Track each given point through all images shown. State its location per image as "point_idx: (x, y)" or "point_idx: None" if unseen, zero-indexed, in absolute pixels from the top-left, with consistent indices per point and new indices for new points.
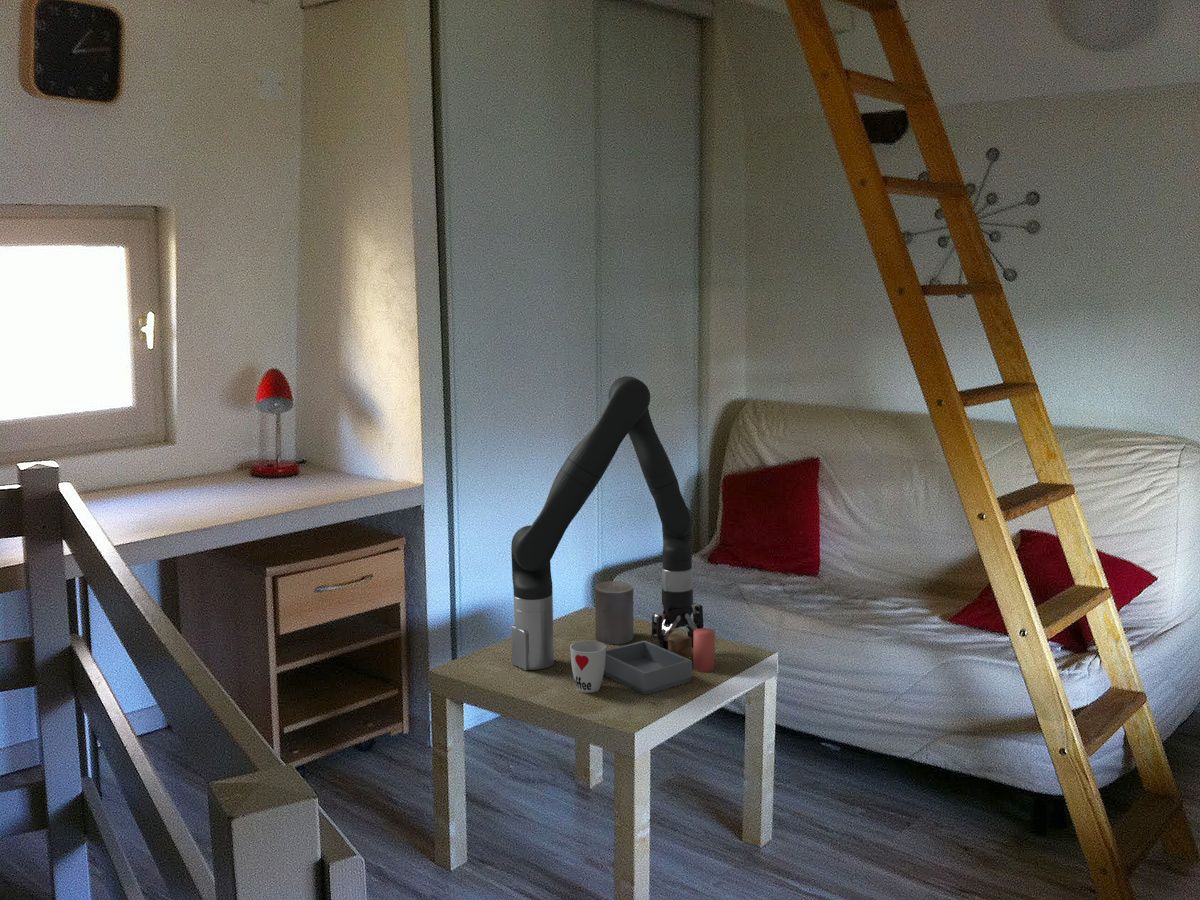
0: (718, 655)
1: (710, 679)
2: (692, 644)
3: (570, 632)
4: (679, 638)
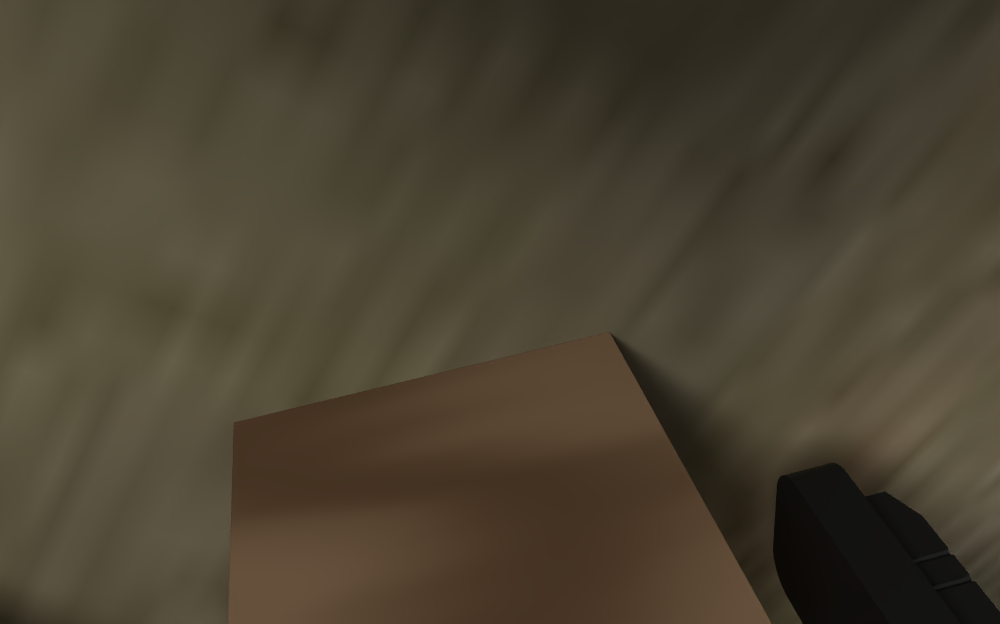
0: None
1: None
2: (802, 596)
3: None
4: None
